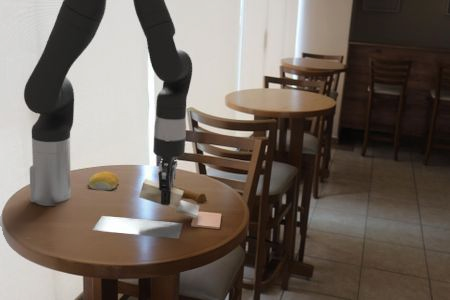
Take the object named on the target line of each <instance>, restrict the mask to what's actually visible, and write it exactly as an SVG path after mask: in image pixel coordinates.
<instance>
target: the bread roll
mask: <svg viewBox="0 0 450 300" xmlns="http://www.w3.org/2000/svg"><path fill="white" fill-rule="evenodd" d="M119 182H120V181H119V177H118V176H117V175H116V174H115V173H114V172H110V171H100V172H97V173H95V174H93V175H92V176H91V177H90V178H89V180H88V186H89V188H91V189H92V190H94V189H95V190H94V191H102V190H104V191H105V190H107V191H111V190H114V189H115V188H116V187H117V186H118V184H119ZM104 191H103V192H104Z"/></svg>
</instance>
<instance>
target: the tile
mask: <svg viewBox="0 0 450 300" xmlns="http://www.w3.org/2000/svg"><path fill="white" fill-rule="evenodd" d="M221 220H222V213H218V212H207V211H199V210H198V215H197V218H194V217H192V221H191V224H190V227H194V228H195V227H196V228H203V229H204V228H205V229H214V230H215V229H217V230H220V228H221Z"/></svg>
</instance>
